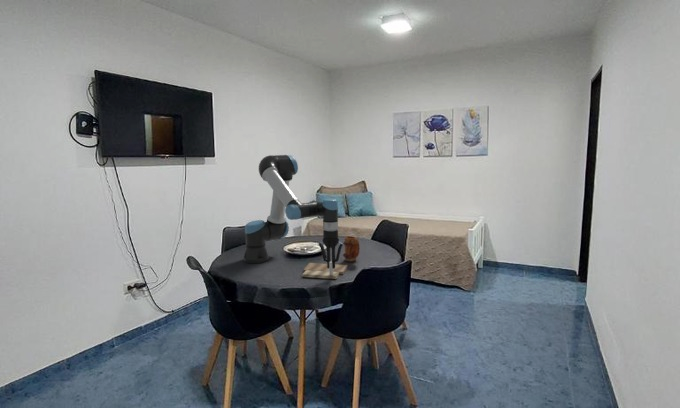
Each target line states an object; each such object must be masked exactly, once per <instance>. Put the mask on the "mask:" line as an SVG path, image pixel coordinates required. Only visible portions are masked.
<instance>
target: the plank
mask: <svg viewBox="0 0 680 408" xmlns="http://www.w3.org/2000/svg"><path fill="white" fill-rule="evenodd" d="M339 276H340V275H339V272H333V275H329V271H313V270H306V271H305V272H303V273H302V277H303V278H313V279H315V278H316V279H330V280H333V279H334V280H337V278H339Z"/></svg>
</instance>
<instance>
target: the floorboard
mask: <svg viewBox="0 0 680 408" xmlns="http://www.w3.org/2000/svg"><path fill="white" fill-rule="evenodd" d="M347 269H348V264H336V263H335V268H334V269H333V272H339V274H343V275H344V274H345V272H346V270H347ZM306 270H313V271H329V268H327V263H318V262H317V263H316V262H309V263H308V264H307V265H305V267H304V269H303V273H304V272H305V271H306Z"/></svg>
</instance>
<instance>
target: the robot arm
mask: <svg viewBox="0 0 680 408" xmlns="http://www.w3.org/2000/svg"><path fill="white" fill-rule="evenodd" d="M258 164H259V165H258V173H259V176H260V178H261V179H262V180H263V181H264V182H266V183H268V185H269V186H270V188H271V189H272V199H271V206H270V212H269V215H267V218H266V221H264V220H262V219H258V220H252V221H251V220H250V221H249V222H247V223H246V224H245V225H244V236H245V237H244V238H245V249H244V253H243V256H242V257H243V262H244V263H245V264H246V263H247V264H261V263H265V262H268V261H269V260H270V255H269V252H268V248H267V246H266V242H268V241H272V240H273V241H274V240H280V239H282V238H286V237H287V236H288V234H289V232H290V230H289V229H290V226H289V222H288V221H287V219H288V220H291V221H293V220H300V219H301V220H302V219H306V218H312V217H322V227H323V228H322V229H323V233H322V234H323V238H322V240H321V241H320V242H318V246H319V248H320V251H321V255H322V259H323V261H324V262H327V263H326V264H327V268H329V275H333V269H334V268H335V264H336V263H337V262H338V261H339V259H340V256H341V252H342V247H343V246H344V244H343V243H344V242H341V241H340V239H339V205H338V200H337V199H335V198H324V199H323V200H322V201H319V200H311V201H309V202H301V201H300V200H299V198H298V197H297V196H296V194H294V191H292V189H291V188H290V187H289V185H290V182H291V181H292V180H293V176H295V175H296V174H297V173H298V171H299V166H298V161H297V159H296V158H295V157H294V156H293V155H291V154H276V155H271V154H269V155H266V156H265V157H263V158H262V159H261V160H260V162H259V163H258ZM285 215H286V217H285ZM286 218H287V219H286ZM337 246H338V249H337V251H336V247H337ZM325 247H326V250H325ZM336 252H337V253H336Z"/></svg>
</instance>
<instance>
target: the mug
mask: <svg viewBox="0 0 680 408" xmlns="http://www.w3.org/2000/svg"><path fill="white" fill-rule="evenodd" d="M342 243H343V246H344V253H343V254H342V256H343V257H344V260H345V261H346V262H355V261H356V260H357V258H358V256H359V254H360V241H359V240H358V238H356V237H355V236H352V235H349V236H345V237H344V242H342Z"/></svg>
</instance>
